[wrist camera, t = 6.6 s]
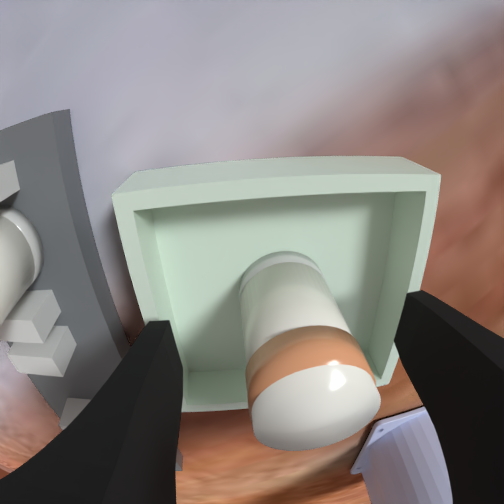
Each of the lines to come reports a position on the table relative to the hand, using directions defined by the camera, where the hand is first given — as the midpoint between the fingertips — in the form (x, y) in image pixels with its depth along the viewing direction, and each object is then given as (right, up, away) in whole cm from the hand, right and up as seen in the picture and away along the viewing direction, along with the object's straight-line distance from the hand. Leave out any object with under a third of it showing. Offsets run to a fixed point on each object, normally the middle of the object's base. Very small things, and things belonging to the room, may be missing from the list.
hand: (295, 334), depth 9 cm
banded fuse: (0, +1, +2) cm, 2 cm away
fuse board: (-10, -3, +4) cm, 11 cm away
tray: (0, +1, +3) cm, 3 cm away
